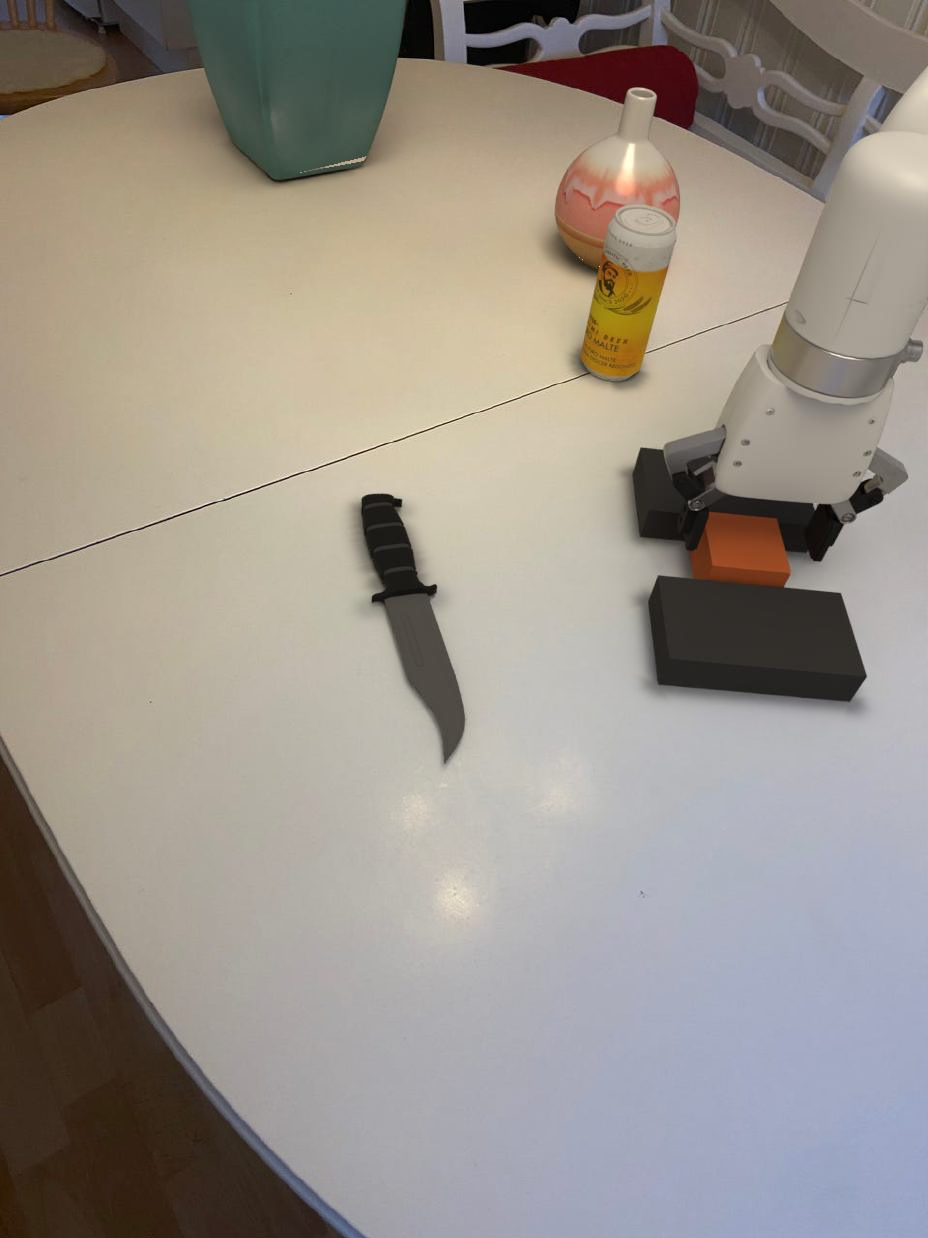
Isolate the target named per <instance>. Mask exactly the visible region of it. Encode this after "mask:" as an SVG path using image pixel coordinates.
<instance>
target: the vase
mask: <svg viewBox="0 0 928 1238" xmlns="http://www.w3.org/2000/svg"><path fill="white" fill-rule="evenodd" d="M657 98H658V95H657V94H656V92H654V91H653V90H651V89H648V88H645V87H631V88H629V89H628V90H627V91H626V95H625V98H624V103H623V108H622V112H621V116H620V121H619V124H618V129H617V132H616V133H613V134H611V135H610V136H607V137H605V138H603V139H600V140H598V141H597V142H595V143H593V144H592V145H590V146H589V147H587V148H586V149H584V150H583V151H582V152H581V153H580V154H579V155H577V157H576V158H575V159H573V161H572V162H571V163H570V165H569V166H568V168H567V169H566V171H565V172H564V174H563V176H562V178H561V180H560V183H559V185H558V187H557V191H556V196H555V200H554V201H555V202H554V219H555V225H556V228H557V231H558V233H559V235H560V237H561V239H562V240H563V242H564V243H565V245H566V246H567V247H568V249H569V250H570V251H571V252H573V253H574V255H575V256H576V258H577V259H578V260H579V261H580V262H582V263H583V264H585V265H586V266H588V267H590V268H592V269H596V270H598V271H599V266H600V262H601V257H602V253H603V248H604V244H605V239H606V234H607V230H608V225H609V223H610V221H611V220H612V219H613V217H614V216H615V214H616V211H617V210H618V209H619V208H621V207H623V206H627V205H647V206H652V207H655V208H658V209H661V210H663V211H665V212H667V213H668V214H670V215H671V216H672V217H673V218H674V220H675V229H676V228H677V226H678V225H677V224H678V222H679V217H680V210H681V193H680V186H679V182H678V178H677V176H676V174H675V171H674V168H673V167H672V165H671V163H670V161H669V160H668V159H667V158H666V156H665V155H664V153H662V151H661V150H660V149H659V148H658V147H657V146H656V144H654V143H653V142H652V141H651V139H650V133H651V128H652V127H651V126H652V124H653V123H652V122H653V118H654V113H655V109H656V104H657ZM579 257H580V258H579ZM582 259H583V260H582Z"/></svg>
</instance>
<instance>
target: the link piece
mask: <svg viewBox="0 0 928 1238" xmlns="http://www.w3.org/2000/svg"><path fill="white" fill-rule="evenodd" d="M688 553H689V558H690V565H691V570H692V571H691V572H692V578H693V579H703V580H713V581H724V582H734V583H744V584H755V585H765V586H776V587H785V586H786V584H787V582H788V580H789V578H790V576H791V574H792V570H791V567H790V562H789V558H788V556H787V551H785V547H784V544H783V540H782V536H781V533H780V529H779V525H778V521H777V519H776V518H766V517H756V516H746V515H736V514H726V513H716V512H709V518H708V521H707V523H706V526H705V529H704V531H703V534H702V536H701V539H700V542H699V544H698V547H697V549H695V550H694V551H688Z"/></svg>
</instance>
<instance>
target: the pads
mask: <svg viewBox="0 0 928 1238" xmlns="http://www.w3.org/2000/svg"><path fill="white" fill-rule="evenodd" d="M712 460H714V458H708V456H707V457H703V458H700V459H696V460H692V461H690V462H688V463H687V464H686V465H687V466H688V467H689V468H690V469H691V471H692V472H695V471H696V470H698V469H700V468H701V467H703V466H704V465H706V464H707V463H709V462H711V461H712ZM633 467H634V468H633V471H632V480H633V481H632V482H633V489H634V497H635V498H634V499H635V505H636V506H635V507H636V514H637V523H638V529H639V537H640V538H649V539H660V540H668V541H669V540H671V541H680V542H685V540H684V534H679V533H678V528H677V523H678V517H679V514H680V511H681V508H682V506H683V503H684V500H685V499H684V498H683V496H682V495H681V494H680V493H679V492H678V491H677V490H676V488H675V487H674V486H673V483H672V479H671V476H670V474H669V471H668V468H667V465H666V462H665V457H664V451H663V449H662V448H661V449H660V448H651V447H650V448H649V447H644V446H643V447H640V448H639V450H638V454H637V458H636V461H635V464H634V466H633ZM713 482H715V479H714V480H713V481H711V482H709V483H708V484H706V485H705V487H707V486H708V485H710V484H711V483H713ZM708 509H709V512H716V513H726V514H736V515H746V516H756V517H766V518H776V519H777V521H778V525H779V529H780V533H781V536H782V540H783V544H784V547H785V551H786V552H793V553H802V554H807V553H808V552H809V551H808V548H807V544H806V541H805V537H804V533H805V530H806V528H807V526H808V524H809V522H810V520H811V518H812V516H813V514H814V512H815V510H816V508H815V505H814V503H802V502H790V501H778V500H767V499H757V498H747V497H739V496H733V495H729V494H727V495H725V496H724V497H722V498H720V499H719V500H717V501H715V502H714V503H712V504H710V505H709V506H708ZM656 576H657V577H656V578H655V582H654V585H653V587H652V590H651V593H650V596H649V598H648V600H647V601H648V603H647V604H648V611H649V612H648V613H649V619H650V629H651V635H652V636H651V637H652V643H653V645H652V646H653V651H654V659H655V668H656V677H657V685H662V686H672V687H683V688H692V689H693V688H694V689H704V690H705V689H706V690H717V691H729V692H736V693H737V692H738V693H747V694H750V693H751V694H761V695H770V696H771V695H772V696H782V697H794V698H803V699H804V698H805V699H815V700H825V701H826V700H827V701H837V702H847V703H848V702H849V703H850V702H851V701H852V699H853V698H854V697H855V695H856V694H857V692H858V690H859V689H860V688H861V687H862V685H863V683H864V682H865V681H866V679H867V678H868V675H867V671H866V668H865V665H864V662H863V659H862V656H861V652H860V649H859V646H858V643H857V640H856V636H855V633H854V629H853V626H852V624H851V620H850V617H849V614H848V610H847V608H846V604H845V601H844V598H843V595H842V592H837V591H827V590H817V589H816V590H815V589H805V588H796V587H785V586H784V587H776V586H765V585H755V584H744V583H734V582H724V581H713V580H703V579H694V577H681V576H671V575H660V574H658V575H656Z"/></svg>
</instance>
